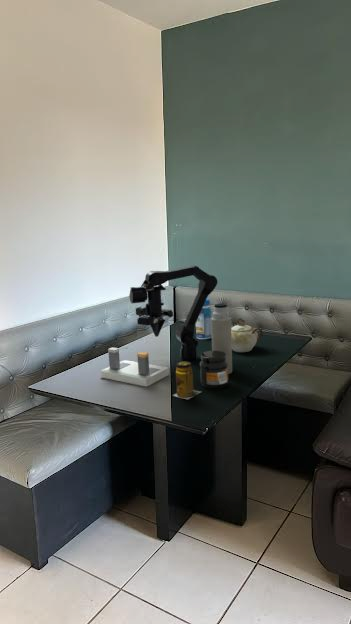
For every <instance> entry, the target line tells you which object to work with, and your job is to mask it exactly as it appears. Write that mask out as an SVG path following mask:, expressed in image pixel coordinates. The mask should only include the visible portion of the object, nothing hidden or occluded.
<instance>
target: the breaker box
mask: <svg viewBox="0 0 351 624" xmlns="http://www.w3.org/2000/svg"><path fill="white" fill-rule="evenodd" d="M169 368H170V367H167V366H162V365H155V364H150V363H149V374H147V375H143V374H139V371H138V361H132V360H127V359H124V360H121V361H120V368H118V369H112V368H110V366H108V367H106V368H103V369H101V370H100V374H101V376H100V377H101V378H103V379H107V380H113V381H118V382H122V383H127V384H131V385H135V386H142V387H148V386H151V385H152V384H154V383H156V382H158V381H160V380H162V379H164V378H165V377H167V376H169V375H170V374H169V373H170V372H169V371H170V369H169Z"/></svg>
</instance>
